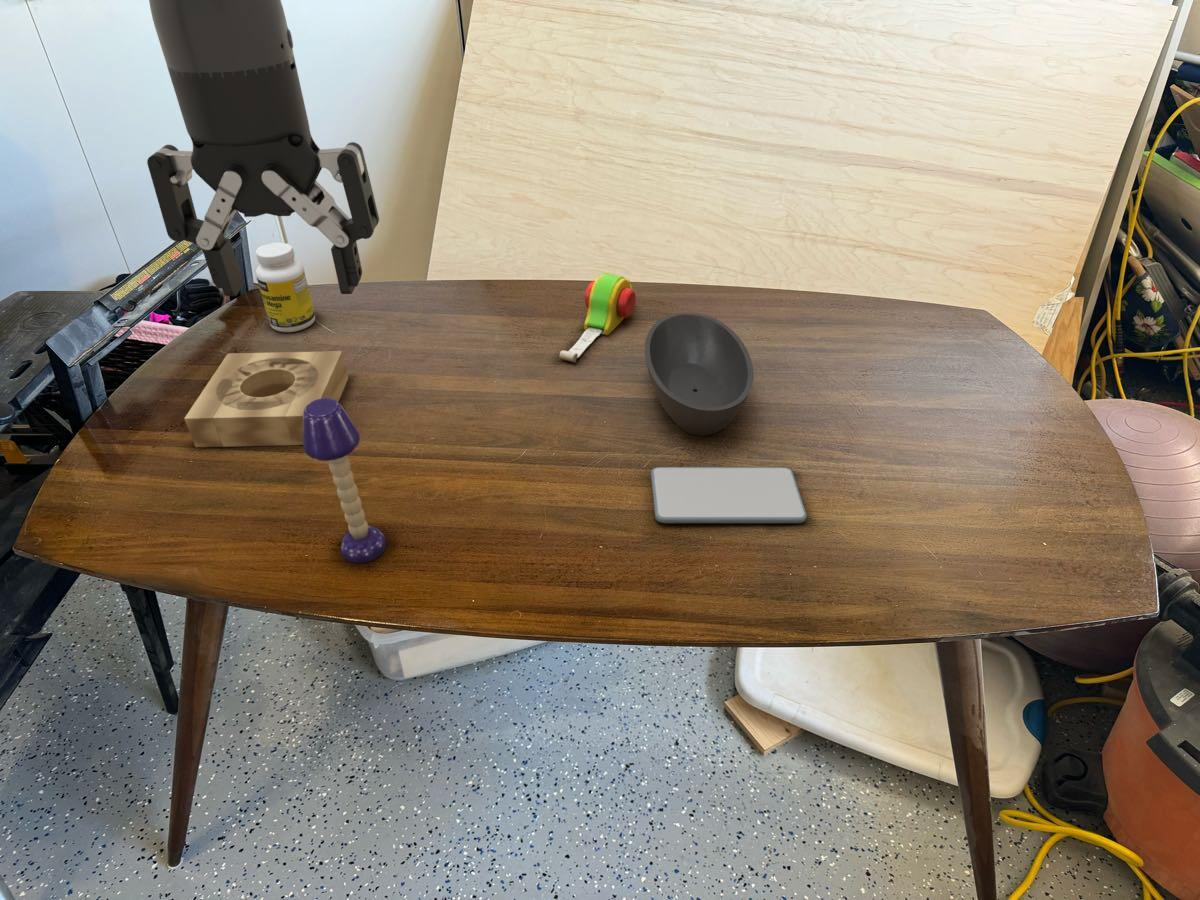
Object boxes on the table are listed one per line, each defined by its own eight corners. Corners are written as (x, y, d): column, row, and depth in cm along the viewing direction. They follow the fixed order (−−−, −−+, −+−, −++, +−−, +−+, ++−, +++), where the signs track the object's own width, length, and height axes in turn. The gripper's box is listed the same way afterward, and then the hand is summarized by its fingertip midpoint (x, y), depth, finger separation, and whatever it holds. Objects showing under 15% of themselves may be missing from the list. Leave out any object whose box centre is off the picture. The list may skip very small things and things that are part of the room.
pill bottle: (261, 330, 111) (238, 255, 104) (287, 310, 115) (267, 237, 109) (300, 336, 109) (279, 261, 102) (325, 316, 114) (307, 242, 107)
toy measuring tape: (647, 306, 116) (649, 263, 112) (587, 369, 102) (586, 323, 98) (608, 297, 118) (608, 255, 114) (544, 358, 104) (541, 313, 100)
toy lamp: (374, 570, 74) (337, 424, 64) (327, 564, 74) (282, 419, 64) (393, 534, 78) (360, 391, 67) (348, 529, 78) (309, 387, 68)
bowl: (727, 353, 105) (732, 311, 101) (763, 455, 87) (770, 408, 84) (635, 356, 104) (637, 313, 101) (653, 459, 87) (655, 412, 83)
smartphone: (808, 519, 78) (655, 518, 77) (807, 526, 78) (655, 526, 78) (791, 465, 84) (650, 465, 84) (790, 473, 85) (650, 472, 85)
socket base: (195, 447, 89) (183, 418, 87) (236, 380, 100) (227, 353, 98) (320, 444, 89) (313, 415, 87) (348, 378, 100) (342, 350, 98)
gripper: (86, 68, 47) (177, 316, 56) (330, 65, 47) (378, 312, 57) (140, 43, 53) (214, 271, 62) (357, 40, 53) (396, 267, 63)
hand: (292, 290), depth 60 cm, fingers open, 8 cm apart
